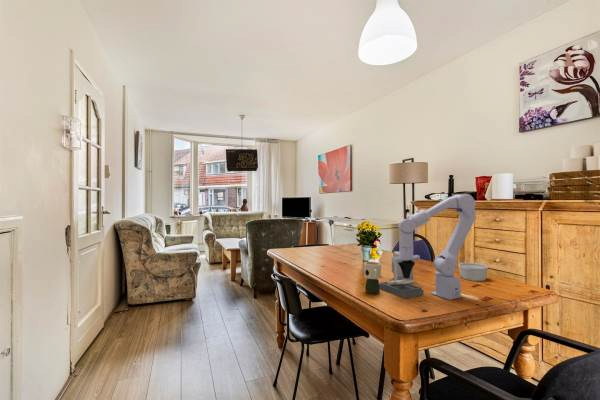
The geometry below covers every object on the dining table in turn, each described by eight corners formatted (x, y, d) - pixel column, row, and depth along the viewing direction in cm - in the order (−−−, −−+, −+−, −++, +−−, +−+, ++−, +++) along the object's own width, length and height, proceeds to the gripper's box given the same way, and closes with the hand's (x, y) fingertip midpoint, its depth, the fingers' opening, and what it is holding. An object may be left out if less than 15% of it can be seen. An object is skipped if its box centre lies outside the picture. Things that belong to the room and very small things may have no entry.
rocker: (413, 282, 129) (413, 278, 130) (403, 284, 127) (403, 280, 127) (397, 283, 138) (396, 279, 138) (387, 284, 135) (386, 281, 136)
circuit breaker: (405, 278, 155) (405, 249, 156) (413, 285, 141) (413, 254, 141) (391, 277, 156) (391, 249, 156) (397, 285, 142) (397, 254, 142)
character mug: (361, 289, 136) (361, 260, 136) (376, 288, 136) (376, 260, 137) (367, 296, 125) (367, 266, 125) (384, 296, 126) (384, 265, 126)
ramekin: (492, 282, 146) (492, 268, 146) (463, 281, 149) (463, 267, 149) (481, 276, 159) (481, 263, 160) (455, 275, 162) (455, 262, 162)
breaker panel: (423, 294, 128) (423, 287, 128) (405, 298, 123) (405, 291, 123) (395, 285, 142) (395, 278, 142) (378, 288, 137) (378, 281, 137)
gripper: (410, 244, 136) (411, 274, 136) (387, 246, 130) (387, 277, 130) (423, 246, 130) (423, 277, 130) (399, 249, 123) (399, 281, 123)
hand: (406, 277), depth 129 cm, fingers closed
